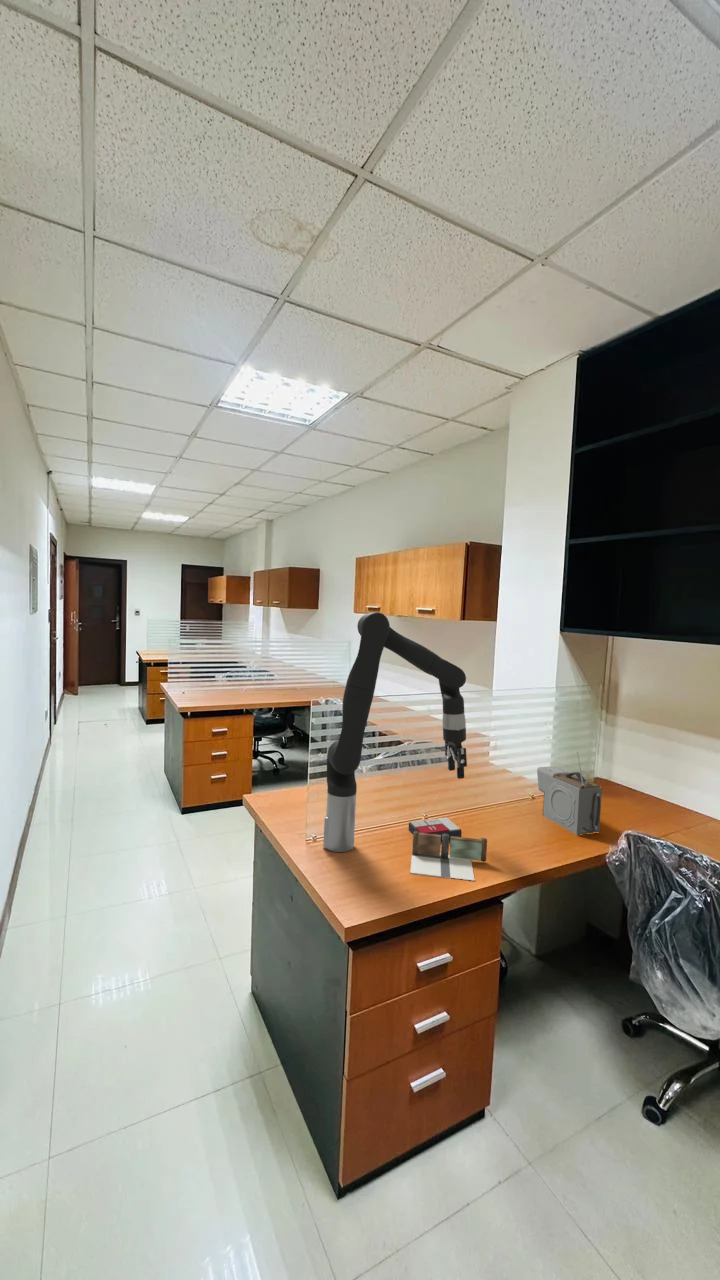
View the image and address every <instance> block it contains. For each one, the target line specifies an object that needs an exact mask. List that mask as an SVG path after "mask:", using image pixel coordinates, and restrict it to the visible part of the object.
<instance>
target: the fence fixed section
mask: <svg viewBox="0 0 720 1280" xmlns="http://www.w3.org/2000/svg"><path fill="white" fill-rule="evenodd" d="M411 850H412V852H411V855H412V854H413V855H418V854H426V855H435V856H440V854H441V858H443V859H448V855H449V854H450V840H449V834H442V841H441V835H436V834H426V833H419V832H417V831H414V832H413V834H412V849H411Z"/></svg>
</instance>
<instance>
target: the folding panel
mask: <svg viewBox="0 0 720 1280" xmlns="http://www.w3.org/2000/svg"><path fill="white" fill-rule="evenodd" d="M487 848H488V838H484V837H482V838H471V837H462V836H461V837H455V836H451V837H450V840H449V855H450V857H452V858H461V859H469V860H471V861H479V862H483V863H485V862H486V861H487V850H488V849H487Z"/></svg>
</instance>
